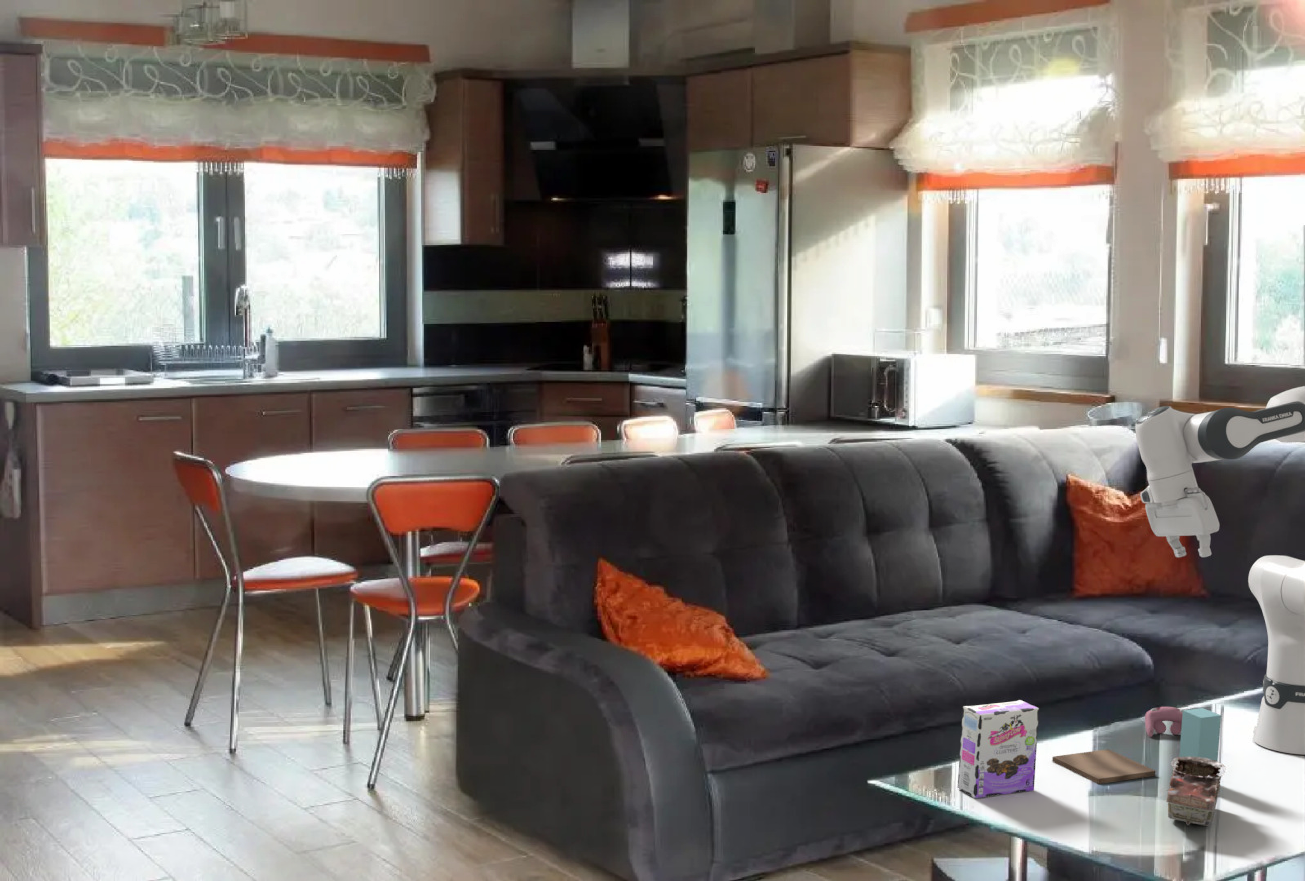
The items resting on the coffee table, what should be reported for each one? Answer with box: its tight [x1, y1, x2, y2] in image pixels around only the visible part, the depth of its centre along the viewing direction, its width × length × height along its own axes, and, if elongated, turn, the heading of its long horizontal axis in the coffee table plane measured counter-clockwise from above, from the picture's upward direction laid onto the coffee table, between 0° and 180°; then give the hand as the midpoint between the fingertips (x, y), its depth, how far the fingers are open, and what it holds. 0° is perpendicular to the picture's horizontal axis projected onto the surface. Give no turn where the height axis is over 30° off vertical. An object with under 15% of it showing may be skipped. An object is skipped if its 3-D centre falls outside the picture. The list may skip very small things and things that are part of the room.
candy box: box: [957, 699, 1040, 799], centre depth 317 cm, size 14×6×16 cm, turn 114°
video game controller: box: [1144, 706, 1184, 738], centre depth 355 cm, size 10×5×7 cm, turn 84°
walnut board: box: [1051, 748, 1156, 785], centre depth 332 cm, size 14×14×1 cm
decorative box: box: [1165, 756, 1226, 827], centre depth 304 cm, size 13×20×10 cm, turn 151°
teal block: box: [1178, 707, 1222, 762], centre depth 324 cm, size 5×5×14 cm
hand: (1193, 556), depth 331 cm, fingers open, 8 cm apart
